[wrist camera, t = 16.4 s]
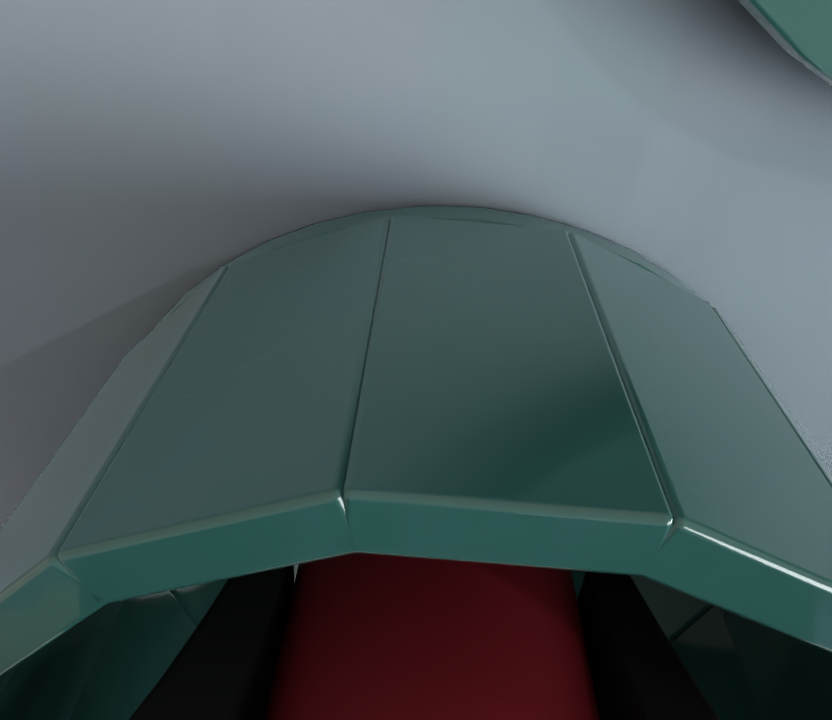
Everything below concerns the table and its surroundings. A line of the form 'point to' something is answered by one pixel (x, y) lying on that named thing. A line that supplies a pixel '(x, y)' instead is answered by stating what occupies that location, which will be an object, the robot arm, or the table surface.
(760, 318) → the table surface
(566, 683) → the candle
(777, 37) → the pot lid
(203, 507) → the candle pot
